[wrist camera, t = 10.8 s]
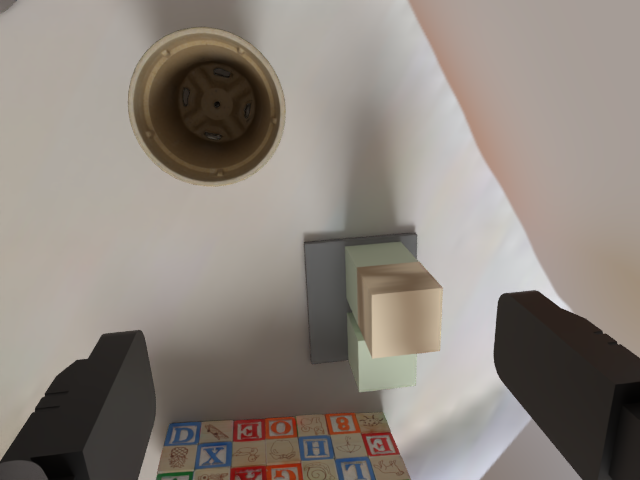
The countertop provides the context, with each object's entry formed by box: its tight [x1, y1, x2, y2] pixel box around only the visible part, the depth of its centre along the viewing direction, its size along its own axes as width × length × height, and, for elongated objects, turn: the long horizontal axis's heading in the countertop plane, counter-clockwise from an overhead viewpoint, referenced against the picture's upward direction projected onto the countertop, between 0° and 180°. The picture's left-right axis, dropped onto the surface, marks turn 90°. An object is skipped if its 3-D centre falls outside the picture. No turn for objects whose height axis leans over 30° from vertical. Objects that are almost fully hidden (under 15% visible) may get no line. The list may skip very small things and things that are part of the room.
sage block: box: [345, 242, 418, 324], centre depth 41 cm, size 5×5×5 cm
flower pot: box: [128, 27, 286, 186], centre depth 33 cm, size 9×9×9 cm
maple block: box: [357, 262, 443, 359], centre depth 36 cm, size 5×5×5 cm
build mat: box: [304, 233, 417, 364], centre depth 44 cm, size 10×12×1 cm
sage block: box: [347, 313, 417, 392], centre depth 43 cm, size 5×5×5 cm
